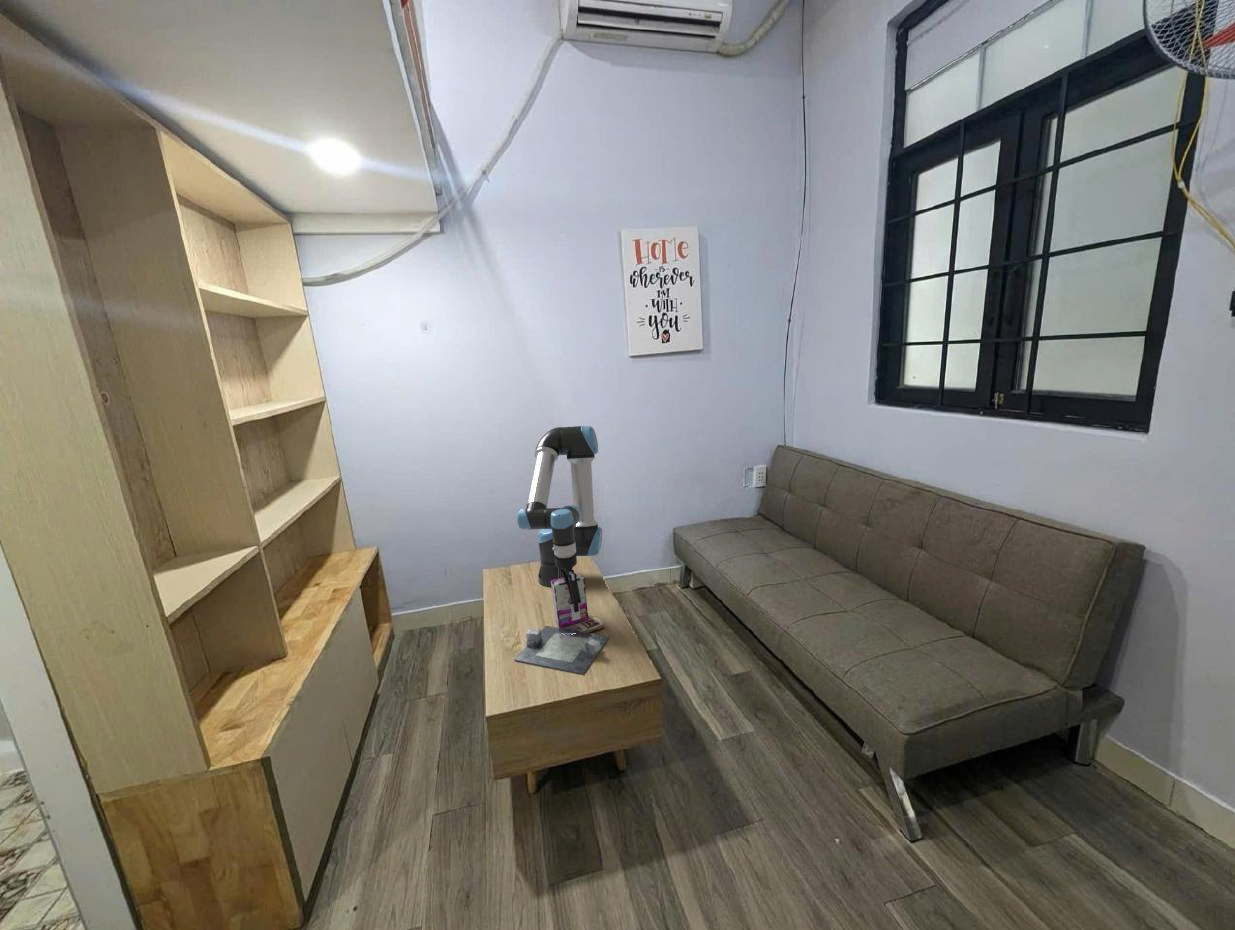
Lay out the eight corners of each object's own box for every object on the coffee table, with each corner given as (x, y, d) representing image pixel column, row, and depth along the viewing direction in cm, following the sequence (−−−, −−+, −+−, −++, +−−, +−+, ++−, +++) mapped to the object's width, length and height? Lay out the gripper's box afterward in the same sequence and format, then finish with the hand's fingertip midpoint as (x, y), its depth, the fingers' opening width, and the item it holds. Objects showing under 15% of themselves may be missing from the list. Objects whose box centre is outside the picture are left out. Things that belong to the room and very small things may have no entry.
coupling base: (511, 660, 151) (509, 646, 150) (543, 626, 169) (542, 614, 168) (586, 675, 142) (585, 661, 141) (612, 637, 160) (611, 625, 159)
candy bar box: (584, 613, 176) (580, 572, 173) (588, 620, 172) (585, 577, 168) (554, 622, 172) (550, 579, 168) (558, 628, 167) (554, 585, 164)
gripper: (545, 545, 176) (551, 599, 180) (565, 569, 154) (571, 630, 159) (565, 541, 179) (570, 594, 183) (587, 564, 157) (592, 624, 162)
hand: (570, 611), depth 171 cm, fingers open, 12 cm apart
